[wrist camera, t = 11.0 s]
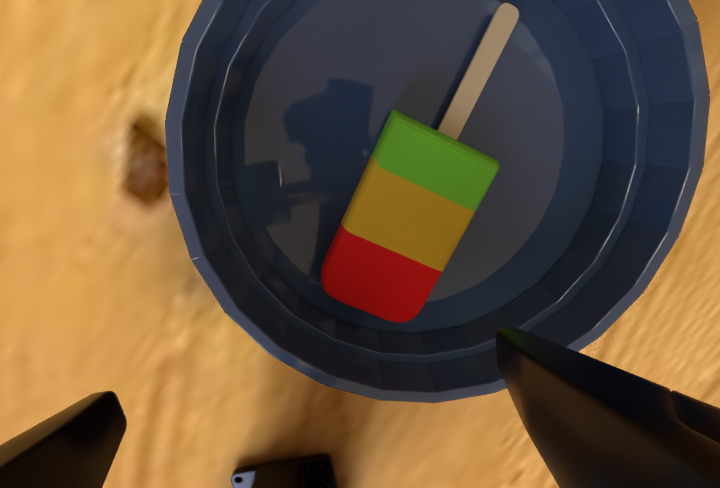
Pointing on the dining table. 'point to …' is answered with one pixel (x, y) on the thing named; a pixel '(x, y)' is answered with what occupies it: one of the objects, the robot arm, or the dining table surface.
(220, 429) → the dining table surface
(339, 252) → the popsicle
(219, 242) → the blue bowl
